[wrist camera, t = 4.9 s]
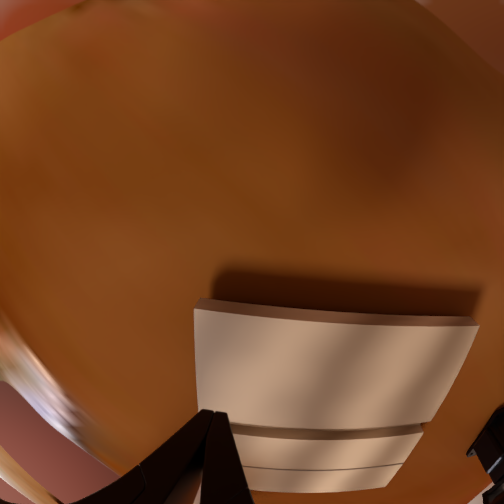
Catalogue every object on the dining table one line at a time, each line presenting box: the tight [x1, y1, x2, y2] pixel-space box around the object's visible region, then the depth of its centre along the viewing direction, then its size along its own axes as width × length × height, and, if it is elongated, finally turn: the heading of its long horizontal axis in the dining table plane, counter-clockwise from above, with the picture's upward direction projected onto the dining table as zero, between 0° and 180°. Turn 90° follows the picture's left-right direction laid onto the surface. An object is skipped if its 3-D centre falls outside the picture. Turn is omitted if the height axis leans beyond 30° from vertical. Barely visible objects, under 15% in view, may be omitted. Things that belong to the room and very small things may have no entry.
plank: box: [194, 298, 479, 429], centre depth 15 cm, size 16×8×1 cm, turn 86°
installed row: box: [230, 422, 424, 493], centre depth 17 cm, size 16×9×1 cm, turn 86°
